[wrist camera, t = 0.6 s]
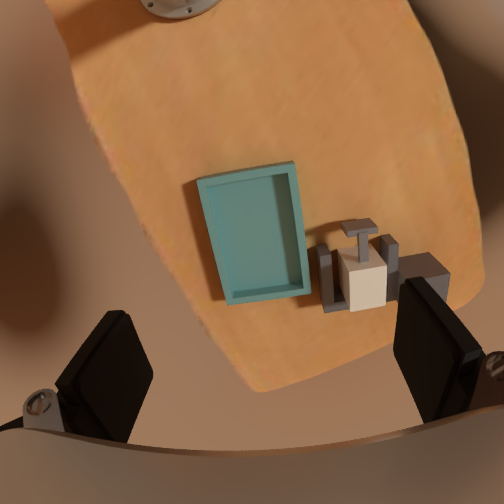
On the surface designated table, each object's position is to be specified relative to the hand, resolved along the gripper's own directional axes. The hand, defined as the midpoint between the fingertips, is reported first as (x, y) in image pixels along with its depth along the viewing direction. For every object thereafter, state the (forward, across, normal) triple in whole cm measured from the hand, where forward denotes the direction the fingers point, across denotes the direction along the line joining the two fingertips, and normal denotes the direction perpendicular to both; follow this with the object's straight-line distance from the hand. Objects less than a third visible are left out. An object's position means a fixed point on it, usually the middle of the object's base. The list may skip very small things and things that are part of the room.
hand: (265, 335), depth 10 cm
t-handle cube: (+32, -11, +11) cm, 36 cm away
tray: (+32, +2, +7) cm, 32 cm away
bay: (+32, -15, +14) cm, 38 cm away
